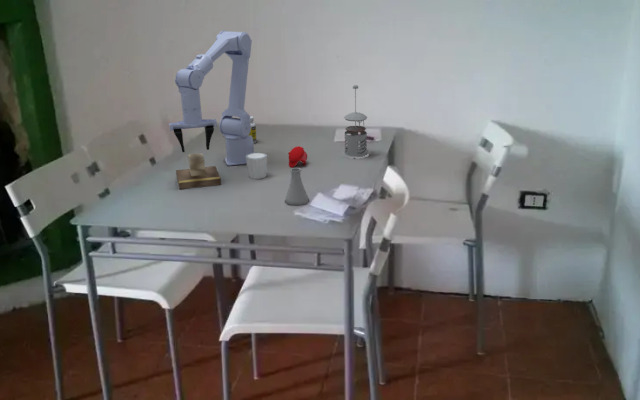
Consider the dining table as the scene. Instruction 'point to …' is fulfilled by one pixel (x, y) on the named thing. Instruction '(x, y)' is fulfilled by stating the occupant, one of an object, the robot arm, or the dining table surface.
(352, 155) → the french press
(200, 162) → the beige block
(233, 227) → the dining table surface
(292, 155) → the cap
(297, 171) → the flask
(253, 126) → the supplement bottle
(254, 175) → the shot glass
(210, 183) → the dock
